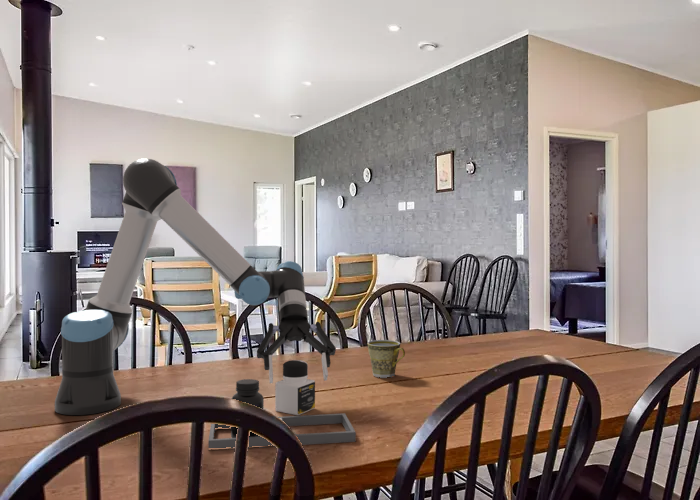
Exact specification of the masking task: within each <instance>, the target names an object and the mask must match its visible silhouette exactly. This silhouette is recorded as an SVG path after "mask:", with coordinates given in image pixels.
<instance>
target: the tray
mask: <svg viewBox="0 0 700 500" xmlns="http://www.w3.org/2000/svg"><path fill="white" fill-rule="evenodd" d="M346 414H347V413H345V412H344V413H327V414H325V413H324V414H310V415H309V414H307V415H288V416H277V417H278V418H280V419H281V420H282V421H284V422H285V423H286V424H287V425H288V426H287V427H298V426H316V425H317V426H318V425H335V424H342V425H343V428H344V430H345V431H332V432H331V431H330V432H314V433H311V432H310V433H309V432H308V433H299V434H298V433H296V434H295V435H296V436H297V437H298V439H299V440H300V442H301V443H302V445H301V446H304V445H320V444H321V445H322V444H337V443H339V444H340V443H354V442H355V443H356V439H357V438H356V433H357V431H355V428H354V427H353V425H352V423H351V421H350V420H349V418H348V417H347V415H346ZM218 427H222V428H229V427H230V426H226V425H218V424H211V423H210V428H209V435H208V440H207V441H208V444H207V445H208V446H207V447H208V448H226V447H231V448H233V447H235V441H236V438H232V437H227V438H226V437H225V438H215V436H214V433H215V434H216V430H215V428H218ZM268 445H270V446H271V445H272V444H271V443H270V442H268V441H267V440H266V439H264V438H262V437H260V436H258V437H249V447H252V446H268ZM272 446H273V445H272ZM249 447H248V448H247V449H250V448H249ZM274 447H276V446H274ZM208 448H207V449H208Z"/></svg>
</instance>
